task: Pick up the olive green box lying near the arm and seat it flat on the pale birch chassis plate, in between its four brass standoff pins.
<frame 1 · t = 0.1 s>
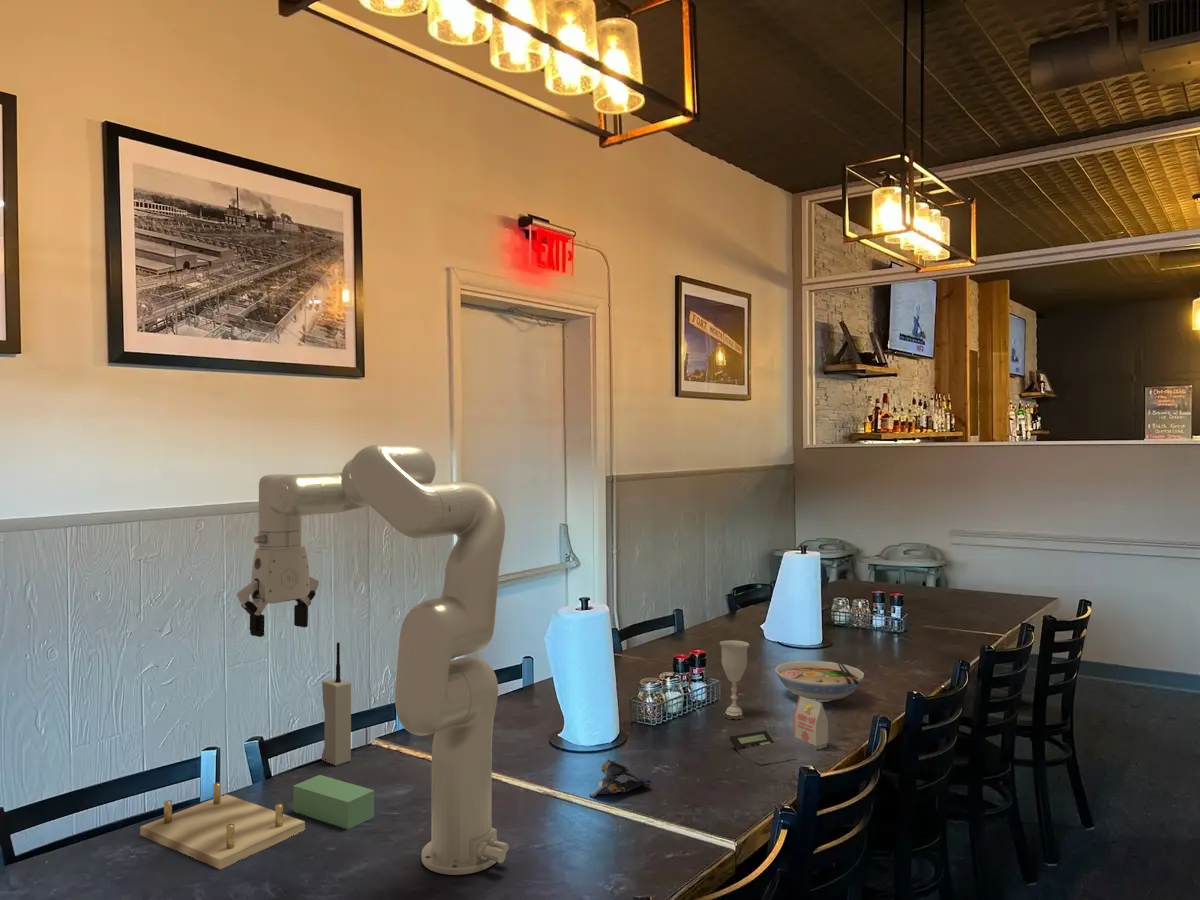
hand: (279, 631, 160), 31 cm above the table, tool pointing down, fingers open, 9 cm apart
calculator: (762, 755, 183), on the table
olive green box: (333, 815, 152), on the table
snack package: (618, 791, 164), on the table
chassis plate: (223, 832, 144), on the table
chalice: (734, 717, 208), on the table
ramen bowl: (819, 699, 223), on the table
vintage mobile phone: (336, 762, 178), on the table
paper takeout bag: (810, 745, 189), on the table
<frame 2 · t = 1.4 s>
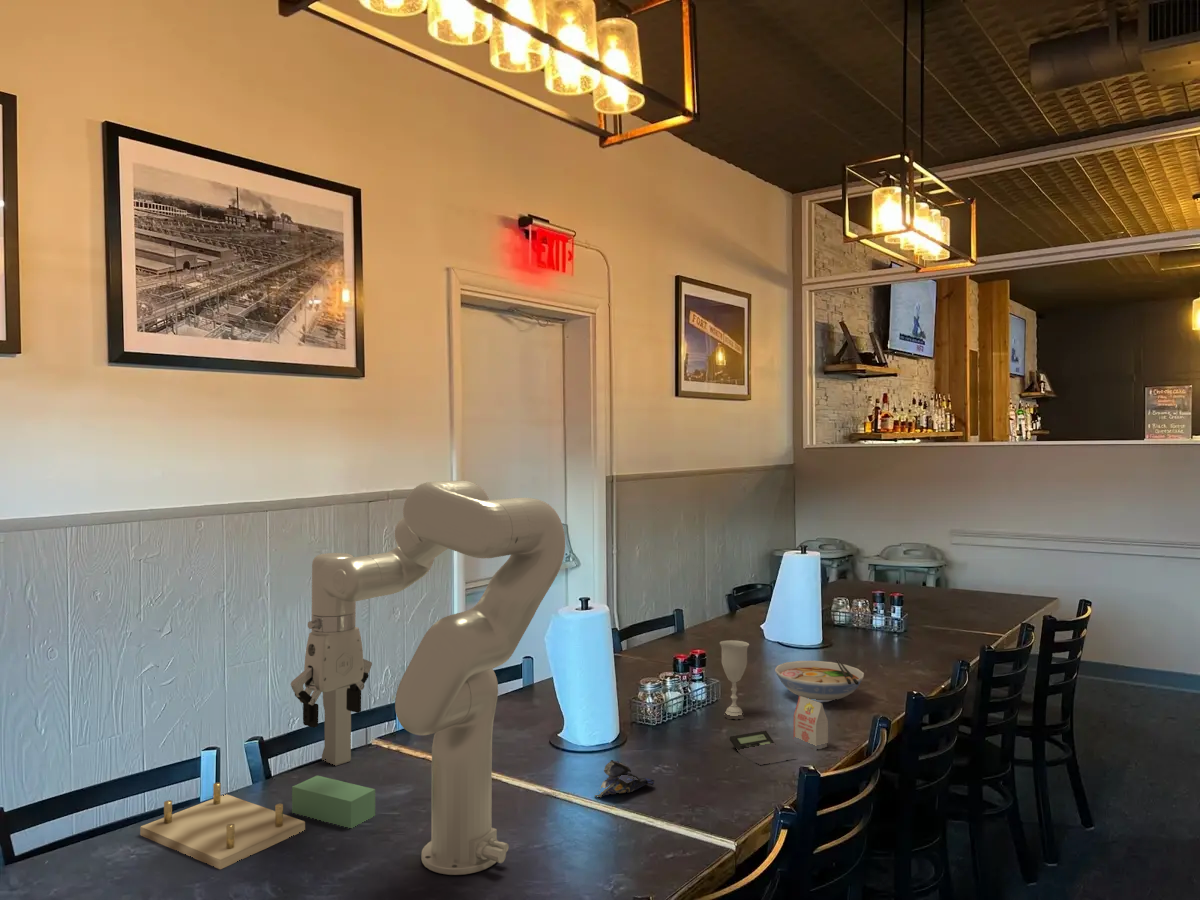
hand: (332, 718, 152), 17 cm above the table, tool pointing down, fingers open, 9 cm apart
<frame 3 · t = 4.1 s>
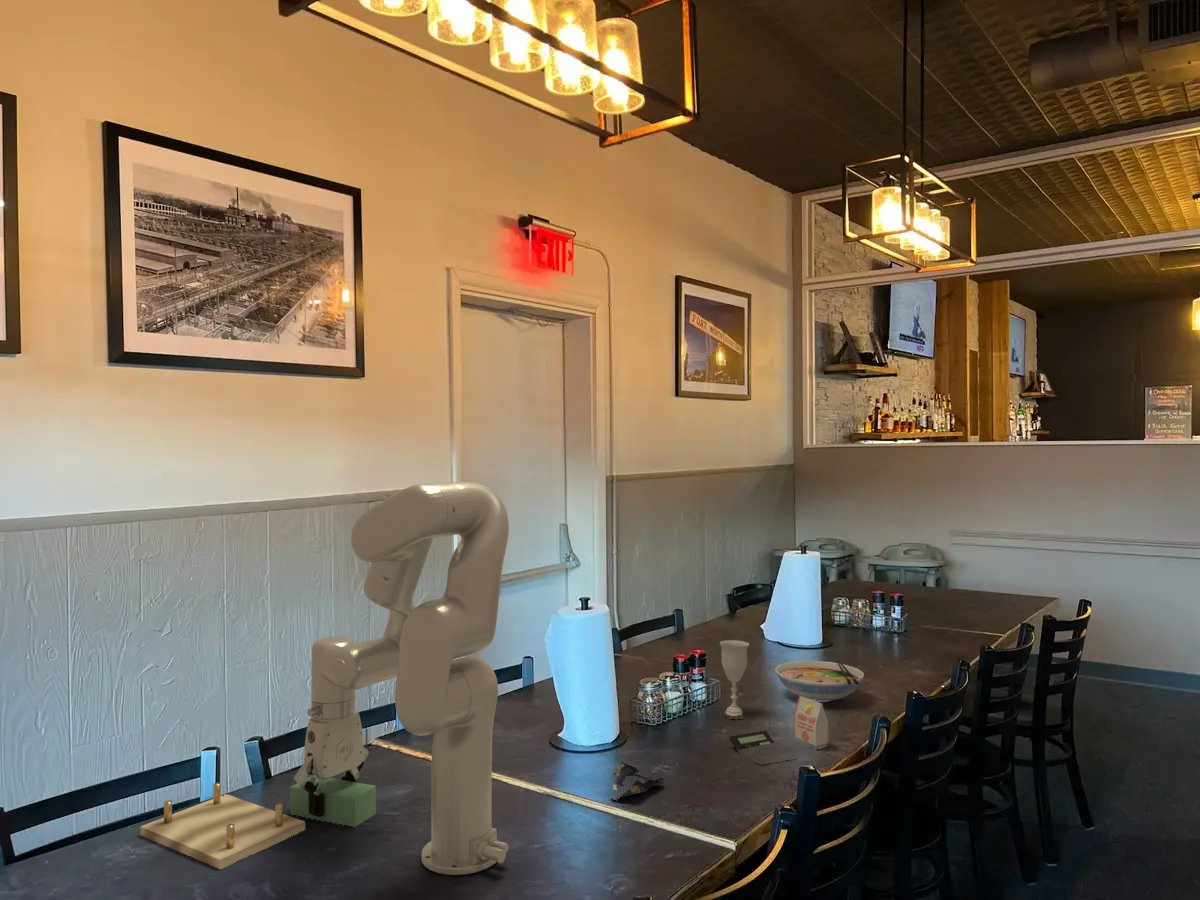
hand: (332, 806, 152), 1 cm above the table, tool pointing down, fingers closed on olive green box, 6 cm apart
olive green box: (333, 814, 152), on the table, touching gripper
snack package: (632, 793, 163), on the table
everything else where it was.
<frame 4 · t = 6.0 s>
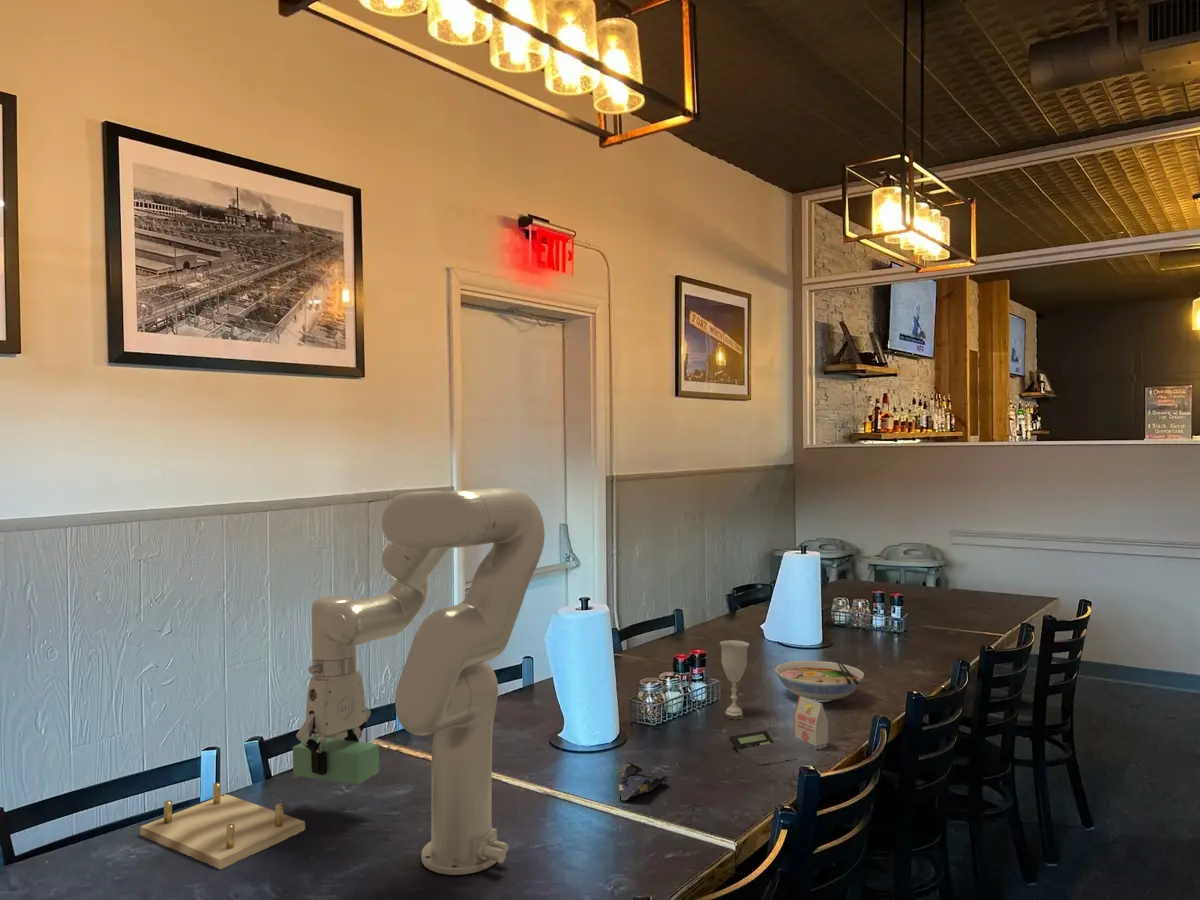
hand: (335, 766, 152), 9 cm above the table, tool pointing down, fingers closed on olive green box, 6 cm apart
olive green box: (336, 773, 152), point 7 cm above the table, touching gripper
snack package: (638, 792, 163), on the table
everything else where it was.
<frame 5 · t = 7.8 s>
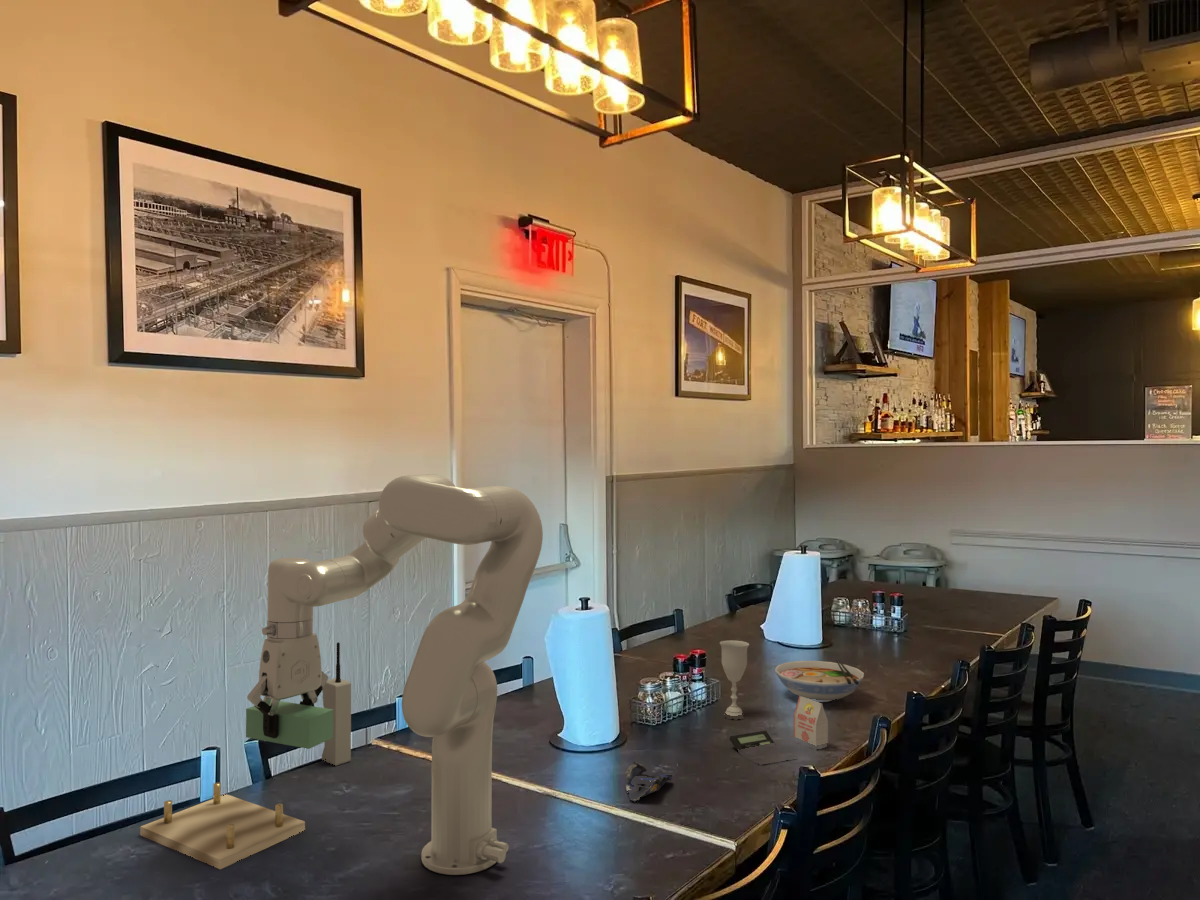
hand: (289, 729, 149), 16 cm above the table, tool pointing down, fingers closed on olive green box, 6 cm apart
olive green box: (289, 737, 149), point 15 cm above the table, touching gripper
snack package: (644, 792, 163), on the table
everything else where it was.
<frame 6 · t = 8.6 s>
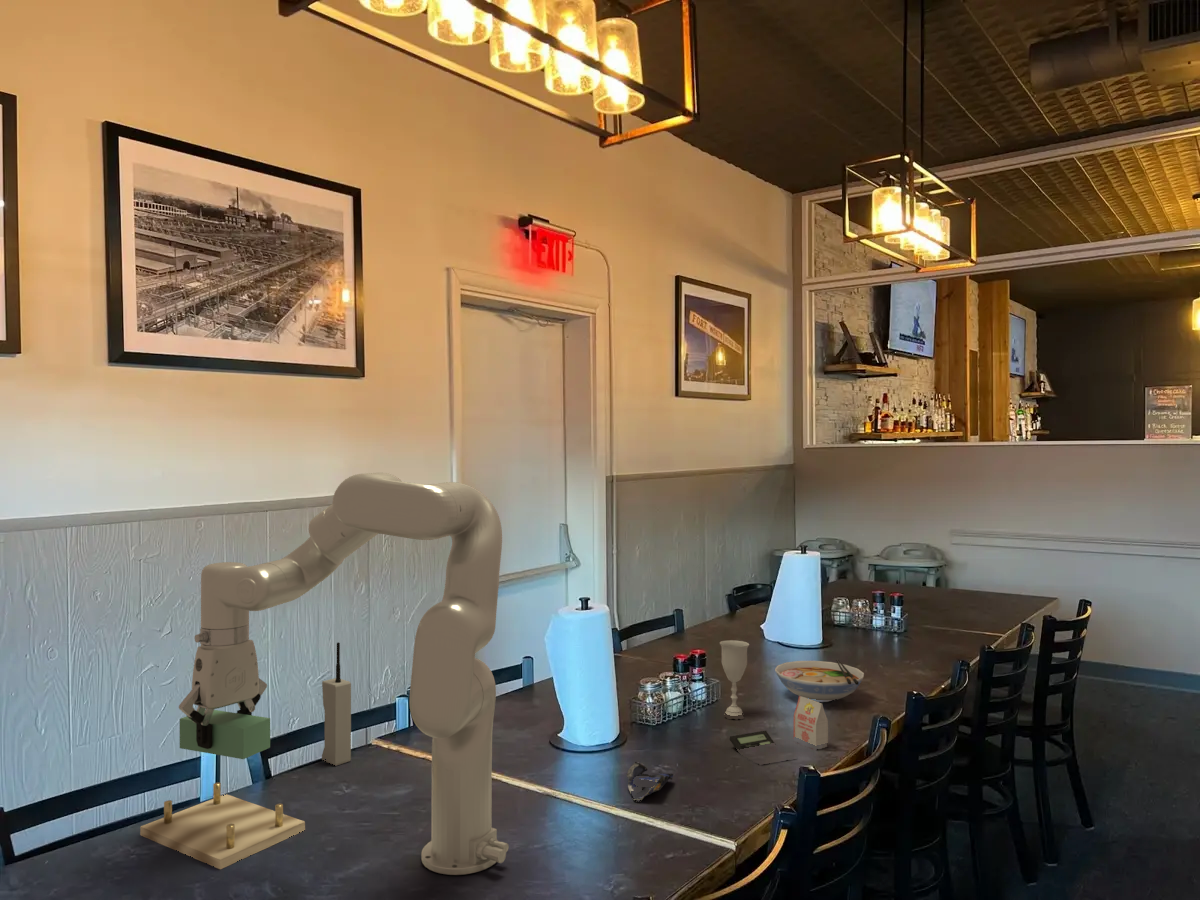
hand: (224, 739, 144), 16 cm above the table, tool pointing down, fingers closed on olive green box, 6 cm apart
olive green box: (224, 747, 144), point 14 cm above the table, touching gripper
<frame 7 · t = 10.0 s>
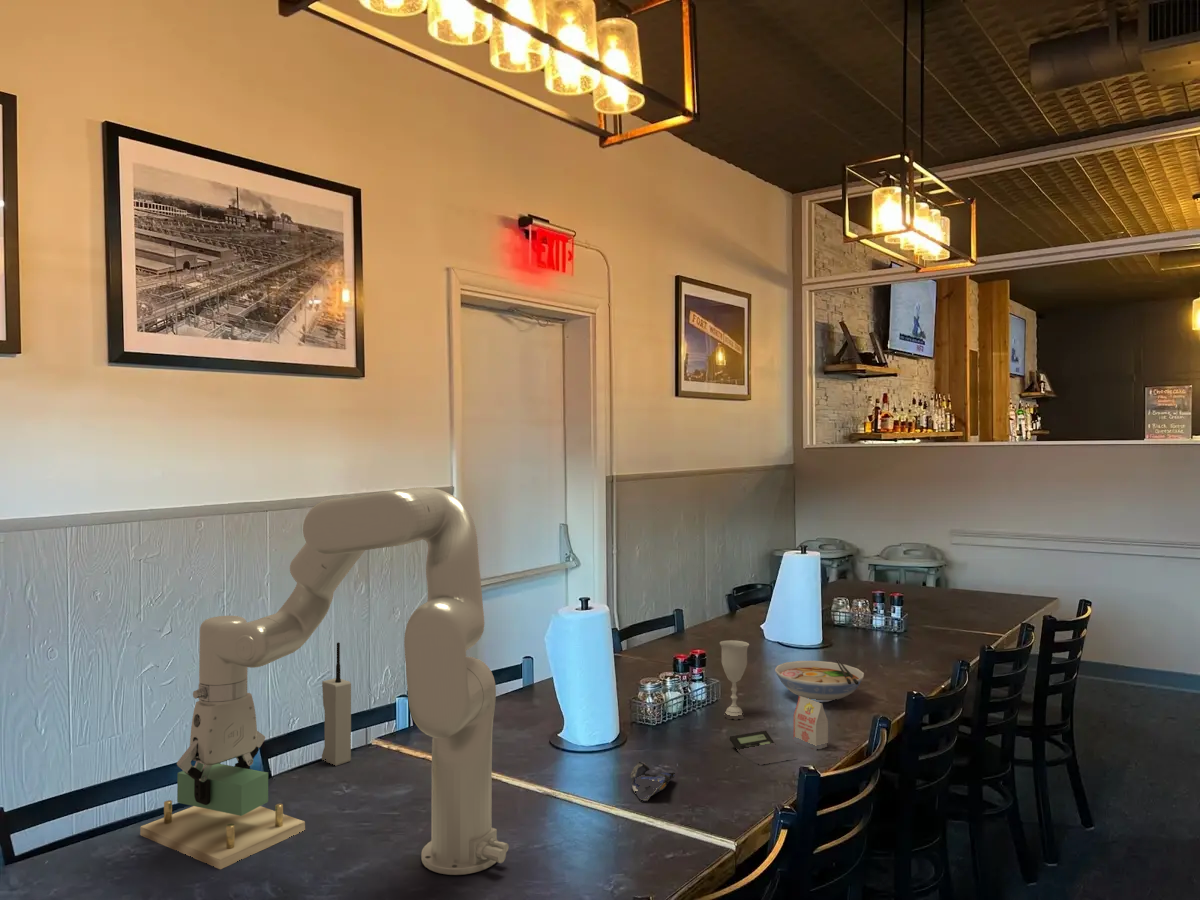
hand: (222, 794, 144), 7 cm above the table, tool pointing down, fingers closed on olive green box, 6 cm apart
olive green box: (222, 802, 144), point 5 cm above the table, touching gripper
when the fingers open (4 cm above the table, at t = 11.4 s): olive green box stays where it is, resting on chassis plate.
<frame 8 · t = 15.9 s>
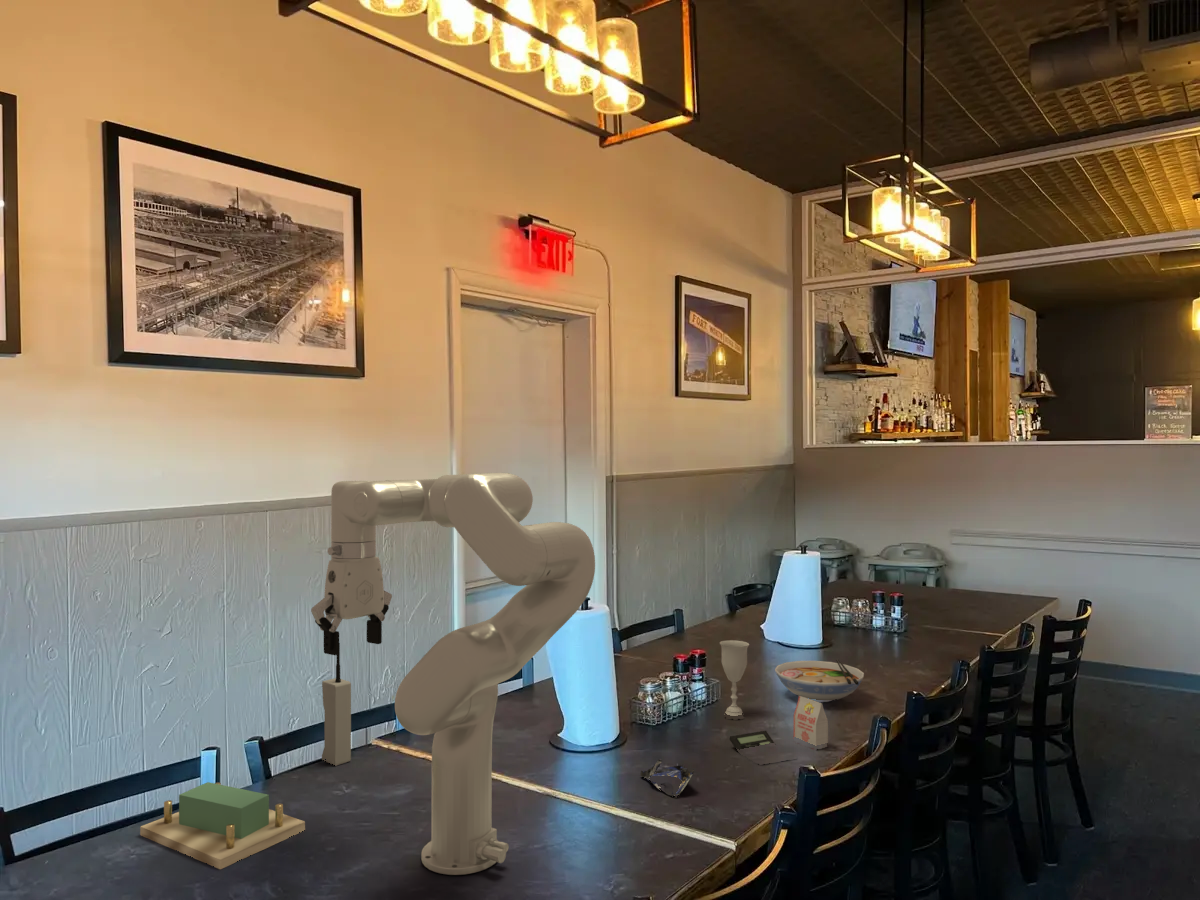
hand: (353, 648, 149), 30 cm above the table, tool pointing down, fingers open, 9 cm apart
olive green box: (223, 824, 144), point 1 cm above the table, touching chassis plate
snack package: (666, 787, 166), on the table
everything else where it was.
at the end: olive green box 0.1 cm off-centre on the chassis plate, point 1.5 cm above the chassis plate's base; olive green box tilted 0°; the gripper is holding nothing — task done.
